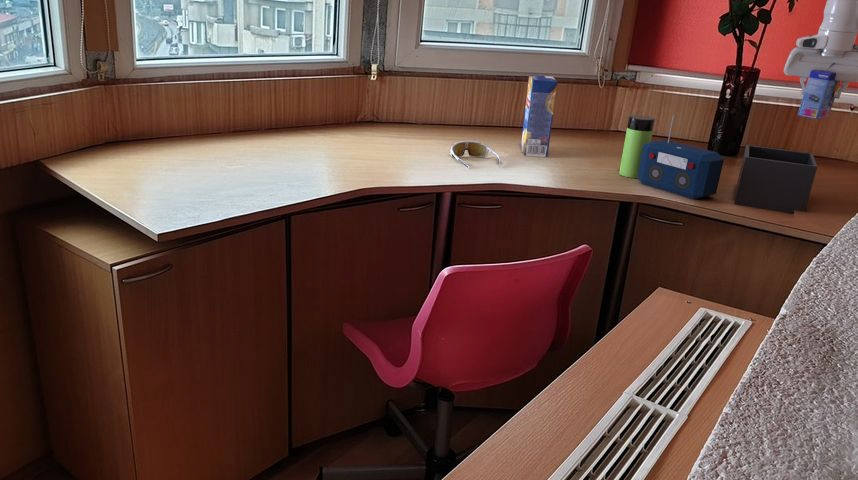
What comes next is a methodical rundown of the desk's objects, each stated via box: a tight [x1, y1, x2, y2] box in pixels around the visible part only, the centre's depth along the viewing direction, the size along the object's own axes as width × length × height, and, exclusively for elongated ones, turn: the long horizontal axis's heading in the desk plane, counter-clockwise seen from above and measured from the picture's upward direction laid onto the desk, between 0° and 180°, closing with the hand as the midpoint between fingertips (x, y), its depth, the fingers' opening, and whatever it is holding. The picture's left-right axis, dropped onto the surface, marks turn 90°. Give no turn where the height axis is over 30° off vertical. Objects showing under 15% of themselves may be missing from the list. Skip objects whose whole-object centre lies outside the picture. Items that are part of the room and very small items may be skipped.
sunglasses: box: [449, 140, 501, 169], centre depth 220 cm, size 14×15×5 cm
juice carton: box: [520, 74, 559, 158], centre depth 232 cm, size 12×8×24 cm, turn 176°
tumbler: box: [618, 114, 656, 179], centre depth 212 cm, size 8×8×17 cm
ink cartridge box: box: [797, 63, 841, 120], centre depth 192 cm, size 10×6×14 cm, turn 133°
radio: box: [636, 115, 725, 200], centre depth 198 cm, size 21×9×20 cm, turn 35°
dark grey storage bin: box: [733, 144, 818, 214], centre depth 193 cm, size 17×18×13 cm
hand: (819, 96), depth 192 cm, fingers closed on ink cartridge box, 6 cm apart
